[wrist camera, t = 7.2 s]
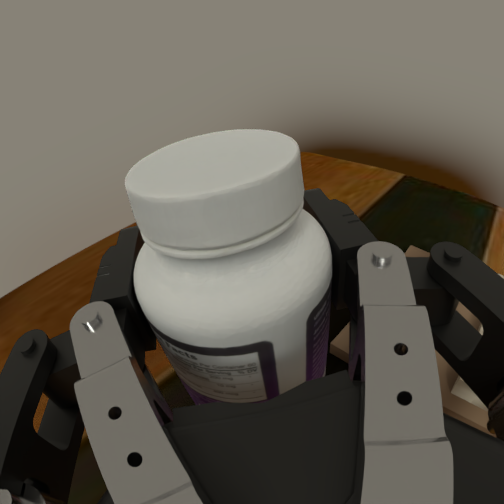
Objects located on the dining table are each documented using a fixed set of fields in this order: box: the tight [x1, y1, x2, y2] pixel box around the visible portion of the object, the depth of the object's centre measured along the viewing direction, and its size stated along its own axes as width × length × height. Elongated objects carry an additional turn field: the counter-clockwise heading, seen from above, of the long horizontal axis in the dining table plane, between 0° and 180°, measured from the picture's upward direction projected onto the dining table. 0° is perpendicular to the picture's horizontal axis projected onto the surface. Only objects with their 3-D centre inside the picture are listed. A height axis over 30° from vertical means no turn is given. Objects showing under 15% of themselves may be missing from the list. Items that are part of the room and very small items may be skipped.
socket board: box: [330, 246, 504, 438], centre depth 16 cm, size 18×12×2 cm, turn 45°
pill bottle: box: [125, 129, 332, 405], centre depth 10 cm, size 5×5×10 cm
